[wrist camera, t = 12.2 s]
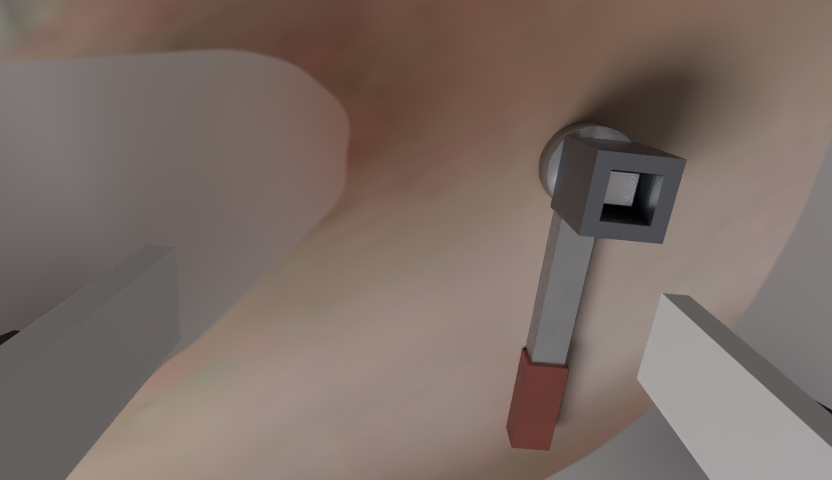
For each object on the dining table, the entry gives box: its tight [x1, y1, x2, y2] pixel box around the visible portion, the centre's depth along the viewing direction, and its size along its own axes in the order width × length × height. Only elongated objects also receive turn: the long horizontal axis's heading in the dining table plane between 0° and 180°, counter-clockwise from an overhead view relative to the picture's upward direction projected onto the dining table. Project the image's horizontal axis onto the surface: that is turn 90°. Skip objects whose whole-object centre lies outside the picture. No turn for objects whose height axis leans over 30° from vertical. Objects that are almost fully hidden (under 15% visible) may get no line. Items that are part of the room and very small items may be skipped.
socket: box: [551, 135, 686, 244], centre depth 35 cm, size 6×6×7 cm
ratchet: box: [506, 122, 640, 451], centre depth 42 cm, size 30×7×8 cm, turn 174°
